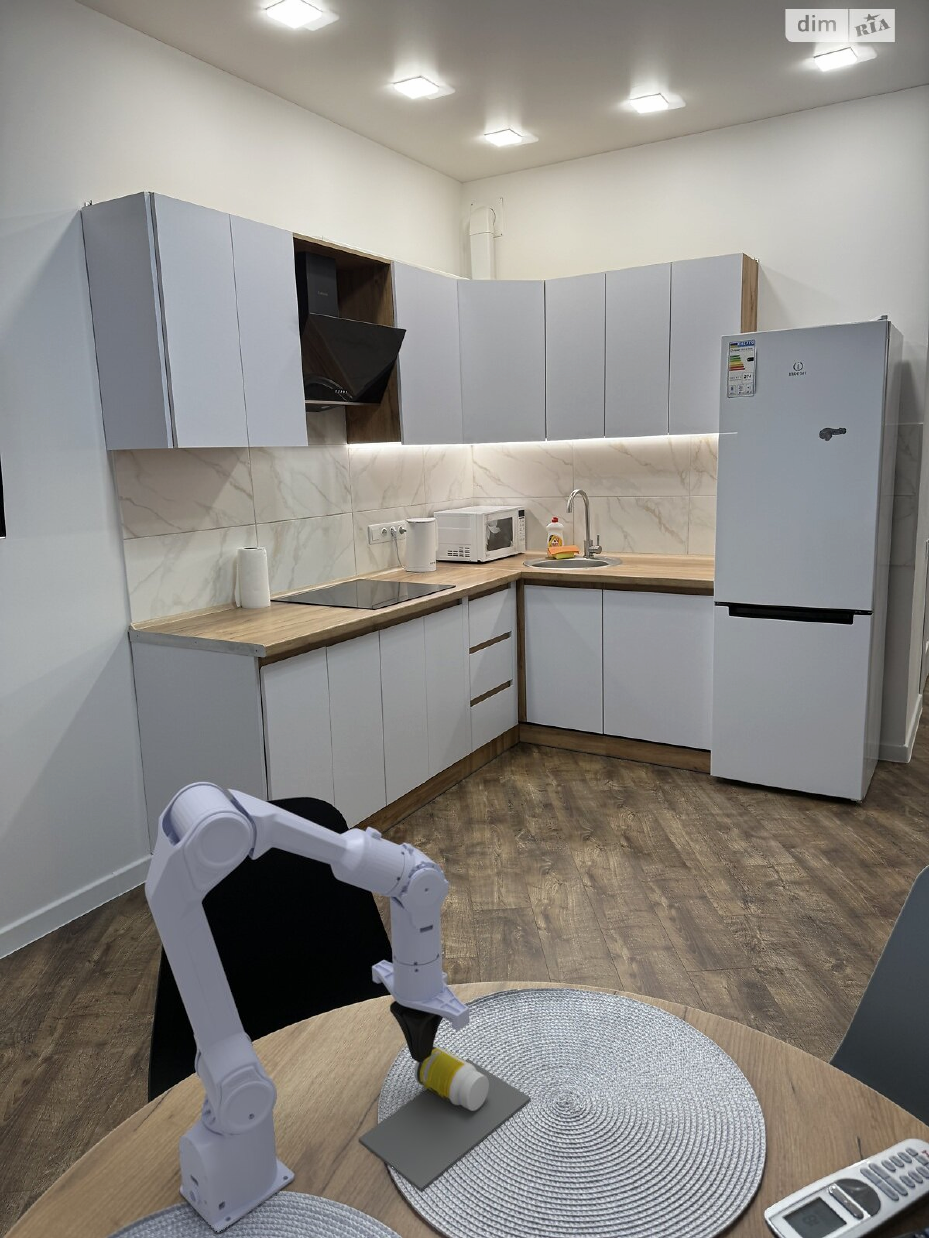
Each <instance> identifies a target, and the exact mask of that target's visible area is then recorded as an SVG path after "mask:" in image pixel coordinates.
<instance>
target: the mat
mask: <svg viewBox="0 0 929 1238" xmlns="http://www.w3.org/2000/svg"><path fill="white" fill-rule="evenodd" d="M465 1061H466V1062H468V1063H470V1064H472V1065H473V1066H474V1067H475V1069H476V1071H477V1072H480V1073H481V1074H483V1075H484V1076H486V1077H487V1079H488V1081H489V1089H488V1093H487V1096H486V1099H485V1101H484V1102H483V1104H482V1105H481V1106H480V1107H479V1108H478V1109H477V1110H474V1111H471V1110H469V1109H467V1108H465V1107H463V1106H462V1105H455V1104H453V1103H451V1102H449V1101H448V1100H446V1099H444V1098H443V1097H441V1096H439V1095H438V1094H436V1093H434V1092H433V1091H431V1090H429V1089H428V1088H425V1089H424V1090H423V1091H422V1092H420V1093H419V1094H417V1095H416V1096H415V1097H414V1098H412V1099H411V1100H409V1101H408V1102H407V1103H405V1104H404V1105H402V1106H401V1107H400V1108H398V1109H397V1110H396V1111H394V1112H393V1113H391V1114H389V1116H387V1117H386V1118H385V1119H383V1120H382V1121H380V1123H378V1124H376V1125H375V1126H373V1127H372V1128H371V1129H370V1130H368V1131H367V1132H365V1133H364V1134H363V1135H361V1136H360V1137H358V1142H359V1143H360V1144H361V1145H362V1146H363V1147H365V1148H366V1149H367V1150H369V1151H370V1152H372V1154H374V1155H375V1156H376V1157H377V1158H378V1159H380V1160H381V1161H382V1162H383V1163H385V1164H386V1165H387V1166H389V1165H390V1166H391V1167H393V1168H394V1169H395V1170H396V1171H397V1172H398V1173H397V1172H396V1171H395V1170H394V1169H393V1170H394V1171H395V1172H396V1173H397V1174H398V1175H400V1176H401V1177H402V1178H403V1179H405V1181H407V1182H409V1183H410V1184H411V1185H412V1186H413V1187H415V1188H416V1189H418V1191H420V1192H421V1193H422V1192H423V1191H424V1190H425V1189H427V1188H428V1187H429V1186H430V1185H431V1184H433V1183H434V1182H435V1181H436V1180H437V1179H439V1178H440V1177H441V1176H442V1175H443V1174H445V1173H446V1172H447V1171H449V1169H451V1168H452V1167H453V1166H454V1165H456V1164H457V1163H458V1162H459V1161H460V1160H462V1159H463V1158H464V1157H465V1156H466V1155H468V1154H469V1153H470V1152H471V1151H472V1150H474V1149H475V1148H476V1147H477V1146H479V1144H481V1143H482V1142H483V1141H484V1140H485V1139H487V1138H488V1137H489V1136H490V1135H491V1134H493V1133H494V1132H495V1131H496V1130H498V1129H499V1128H500V1127H501V1126H502V1125H503V1124H505V1123H506V1122H507V1121H508V1120H509V1119H510V1118H512V1117H513V1116H514V1115H515V1114H517V1113H518V1112H519V1111H521V1109H523V1108H524V1107H525V1106H526V1105H527V1104H528V1103H530V1102H531V1101H532V1100H531V1099H532V1098H531V1096H529V1095H527V1094H525V1093H524V1092H522V1091H521V1090H519V1089H517V1088H516V1087H514V1086H512V1085H511V1084H509V1083H508V1082H507V1081H504V1079H501V1078H500V1077H498V1076H496V1075H495V1074H493V1073H492V1072H490V1071H489V1070H488V1069H487V1070H486V1069H485V1068H484V1067H482V1066H480V1065H479V1064H478V1063H476V1062H474V1061H472V1060H470V1059H469V1058H467V1059H465ZM390 1166H389V1167H390ZM391 1167H390V1168H391Z"/></svg>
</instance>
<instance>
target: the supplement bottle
mask: <svg viewBox="0 0 929 1238" xmlns="http://www.w3.org/2000/svg"><path fill="white" fill-rule="evenodd" d="M414 1077H415V1078H414V1079H415V1081H416V1082H417V1083H418V1084H420V1085H421V1086H423V1087H424V1088H425V1089H427V1088H428V1089H429V1090H431V1091H433V1092H434V1093H436V1094H438V1095H439V1096H441V1097H443V1098H444V1099H446V1100H448V1101H449V1102H451V1103H453V1104H455V1105H462V1106H463V1107H465V1108H467V1109H469V1110H471V1111H474V1110H477V1109H478V1108H479V1107H480V1106H481V1105H482V1104H483V1102H484V1101H485V1099H486V1096H487V1093H488V1089H489V1081H488V1079H487V1077H486V1076H484V1075H483V1074H481V1073H480V1072H477V1071H476V1069H475V1067H474V1066H473V1065H472V1064H470V1063H468V1062H466V1059H463V1058H461V1057H459V1056H457V1055H456V1054H454V1053H452V1052H451V1051H449V1050H447V1049H445V1048H443V1047H441V1046H440V1045H437V1044H433V1049H432V1053H431V1056H429V1057H428V1058H426V1059H425V1060H424V1061H422V1062H421V1063H418V1062H417V1061H415V1066H414Z"/></svg>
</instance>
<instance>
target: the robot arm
mask: <svg viewBox="0 0 929 1238" xmlns="http://www.w3.org/2000/svg"><path fill="white" fill-rule="evenodd" d="M227 791H228V792H229V793H230V795H231V797H232V798H229V797H228V795H227V793H226V792H225V791H224V789H222V788H221V787H220V786H218V784H215V783H213V782H209V781H197V782H194V783H190V784H187V785H186V786H184V787H183V788H181V789H180V790H179V791H178V792H177V793H176V794H175V795H174V796H173V798H172V799H171V800H170V801H169V803H168V804H167V806H166V807H165V809H164V810H163V811H162V813H161V814H160V815H159V817H158V825H157V827H158V829H157V838H156V842H155V846H154V850H153V853H152V857H151V860H150V864H149V869H148V872H147V875H146V876H147V877H146V879H145V883H144V893H145V898H146V901H147V903H148V907H149V910H150V912H151V915H152V918H153V920H154V923H155V925H156V926H155V927H156V928H157V932H158V935H159V937H160V939H161V943H162V947H163V948H164V951H165V954H166V956H167V960H168V963H169V965H170V968H171V969H170V970H171V971H172V974H173V977H174V980H175V983H176V985H177V988H178V991H179V994H180V997H181V1001H182V1003H183V1005H184V1008H185V1011H186V1014H187V1016H188V1021H189V1023H190V1025H191V1028H192V1030H193V1037H194V1041H195V1044H196V1054H195V1059H194V1069H195V1072H196V1075H197V1077H198V1078H199V1079H200V1081H201V1084H202V1086H203V1088H204V1091H205V1096H204V1100H203V1104H202V1107H201V1115H200V1117H199V1118H198V1120H196V1122H195V1124H193V1126H192V1127H191V1128H189V1129H188V1131H186V1132H185V1133H184V1134H183V1135H182V1136H180V1138H179V1140H178V1154H179V1155H178V1156H179V1165H180V1173H181V1174H180V1177H181V1185H180V1187H179V1192H180V1194H181V1195H182V1196H183V1198H185V1200H186V1201H187V1202H188V1203H189V1204H190V1205H191V1206H192V1207H193V1208H194V1209H195V1211H196V1212H197V1213H198V1214H199V1215H200V1216H201V1218H203V1219H204V1220H205V1222H206V1223H207V1222H208V1223H207V1224H208V1225H209V1226H210V1225H211V1226H210V1228H212V1229H213V1228H214V1229H213V1230H214V1231H215V1232H216V1231H217V1232H216V1233H219V1232H218V1231H221V1230H223V1229H224V1228H226V1227H227V1228H228V1226H229V1225H230V1226H231V1225H233V1224H234V1223H235V1222H237V1221H238V1220H240V1219H241V1218H243V1217H244V1216H245V1215H247V1214H248V1213H249V1212H250V1211H253V1209H255V1208H257V1207H258V1206H259V1205H260V1204H262V1203H263V1202H264V1201H266V1200H268V1199H269V1198H270V1197H272V1196H273V1195H274V1194H275V1193H277V1192H278V1191H280V1190H282V1188H284V1187H286V1185H288V1184H290V1183H291V1182H292V1181H294V1179H295V1173H294V1172H293V1171H292V1170H291V1169H289V1168H288V1167H287V1165H286V1164H284V1163H283V1162H282V1160H280V1159H279V1158H278V1157H277V1148H276V1147H277V1146H276V1135H275V1123H274V1112H273V1111H274V1108H275V1106H276V1103H277V1099H278V1098H277V1097H278V1096H277V1095H278V1091H277V1087H276V1085H275V1083H274V1081H273V1079H272V1078H271V1077H270V1076H269V1075H268V1073H267V1071H266V1069H265V1067H264V1066H263V1063H262V1062H261V1059H260V1058H259V1056H258V1054H257V1052H256V1050H255V1048H254V1045H253V1042H252V1039H251V1038H250V1036H249V1035H248V1034H247V1032H245V1030H244V1026H243V1024H242V1021H241V1019H240V1015H239V1012H238V1008H237V1007H236V1003H235V999H234V996H233V993H232V992H231V988H230V985H229V981H228V980H227V975H226V972H225V971H224V967H223V964H222V961H221V957H220V955H219V952H218V948H217V946H216V943H215V940H214V936H213V934H212V931H211V927H210V925H209V922H208V918H207V916H206V913H205V910H204V907H203V904H202V902H203V900H204V899H205V897H206V895H207V894H208V893H209V892H210V891H211V890H213V888H214V887H216V886H217V885H218V884H219V883H220V882H221V881H222V880H223V879H225V878H226V877H227V876H228V875H229V874H230V873H231V872H233V871H234V870H235V869H236V868H237V867H239V865H240V864H241V863H242V862H243V861H244V860H245V859H246V857H247V856H249V858H251V860H256V859H258V858H259V857H261V856H262V855H264V854H265V853H266V852H268V851H269V850H270V849H271V848H276V849H278V850H279V849H280V850H283V851H286V852H289V853H292V854H296V855H299V856H303V857H305V858H310V859H312V860H316V861H318V862H322V863H324V864H328V865H330V868H331V871H332V873H333V876H334V877H335V878H336V879H337V880H338V881H340V882H343V883H346V884H348V885H352V886H355V887H357V888H361V889H363V890H366V891H369V892H372V893H375V894H377V895H380V896H382V897H389V904H390V908H389V909H390V933H391V951H392V953H391V954H392V955H391V956H392V962H389V961H388V960H385V959H383V960H381V961H379V962H378V963H376V964H374V965H372V966H371V971H372V973H371V974H372V981H373V982H374V983H376V984H381V983H383V985H384V986H385V988H386V989H387V991H388V992H389V993H390V995H391V997H393V999H394V1001H393V1002H392V1003H391V1004H390V1005H389V1011H390V1013H391V1014H392V1016H393V1017H394V1018H395V1020H396V1021H397V1023H398V1025H399V1027H400V1028H401V1031H402V1035H403V1036H404V1039H405V1042H406V1044H407V1048H408V1051H409V1054H410V1057H411V1059H413V1060H414V1061H415V1062H418V1063H421V1062H422V1061H424V1060H425V1059H426V1058H428V1057H429V1056H431V1053H432V1049H433V1045H435V1044H434V1043H435V1040H436V1036H437V1032H438V1030H439V1027H440V1024H441V1022H442V1021H443V1019H445V1020H447V1021H448V1022H450V1023H451V1028H452V1029H454V1030H455V1031H456V1032H457V1031H460V1030H461V1029H463V1028H464V1027H466V1026H467V1025H468V1024H470V1021H471V1020H470V1007H468V1006H467V1005H466V1004H464V1003H463V1001H461V1000H460V999H459V998H458V996H457V995H456V994H455V993H454V991H452V989H451V988H450V987H449V986H448V984H447V983H446V982H447V981H448V974H447V973H446V972H444V971H443V955H442V953H443V951H442V949H443V948H442V925H441V924H442V923H441V920H442V919H441V917H442V913H441V912H442V910H441V907H442V905H443V903H444V901H445V899H446V898H447V895H448V893H449V888H450V881H448V880H447V879H446V875H445V872H444V870H443V869H442V868H441V866H440V865H438V864H437V863H435V861H434V860H432V859H431V858H430V857H429V856H428V855H426V854H425V853H424V852H422V851H421V850H420V849H418V848H416V847H414V845H413V844H411V843H406V842H403V843H402V844H397V843H394V842H393V841H390V840H388V839H385V838H382V834H383V833H381V832H379V830H377V829H375V828H373V827H370V826H367V828H366V829H365V830H363V829H359V828H352V829H348V830H347V831H345V832H343V833H338V832H335V831H334V830H331V829H329V828H326V827H325V826H322V825H319V824H318V823H315V822H313V821H311V820H309V819H306V818H304V817H301V816H299V815H297V814H295V813H293V812H290V811H288V810H286V809H284V808H281V807H279V806H278V805H277V806H276V805H275V804H272V803H269V802H268V801H264V800H262V799H260V798H257V797H255V796H252V795H250V794H247V793H244V792H242V791H240V790H236V789H231V788H227ZM230 1226H229V1227H230ZM227 1228H226V1229H227ZM224 1230H225V1229H224ZM224 1230H223V1231H224ZM221 1232H222V1231H221Z"/></svg>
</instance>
